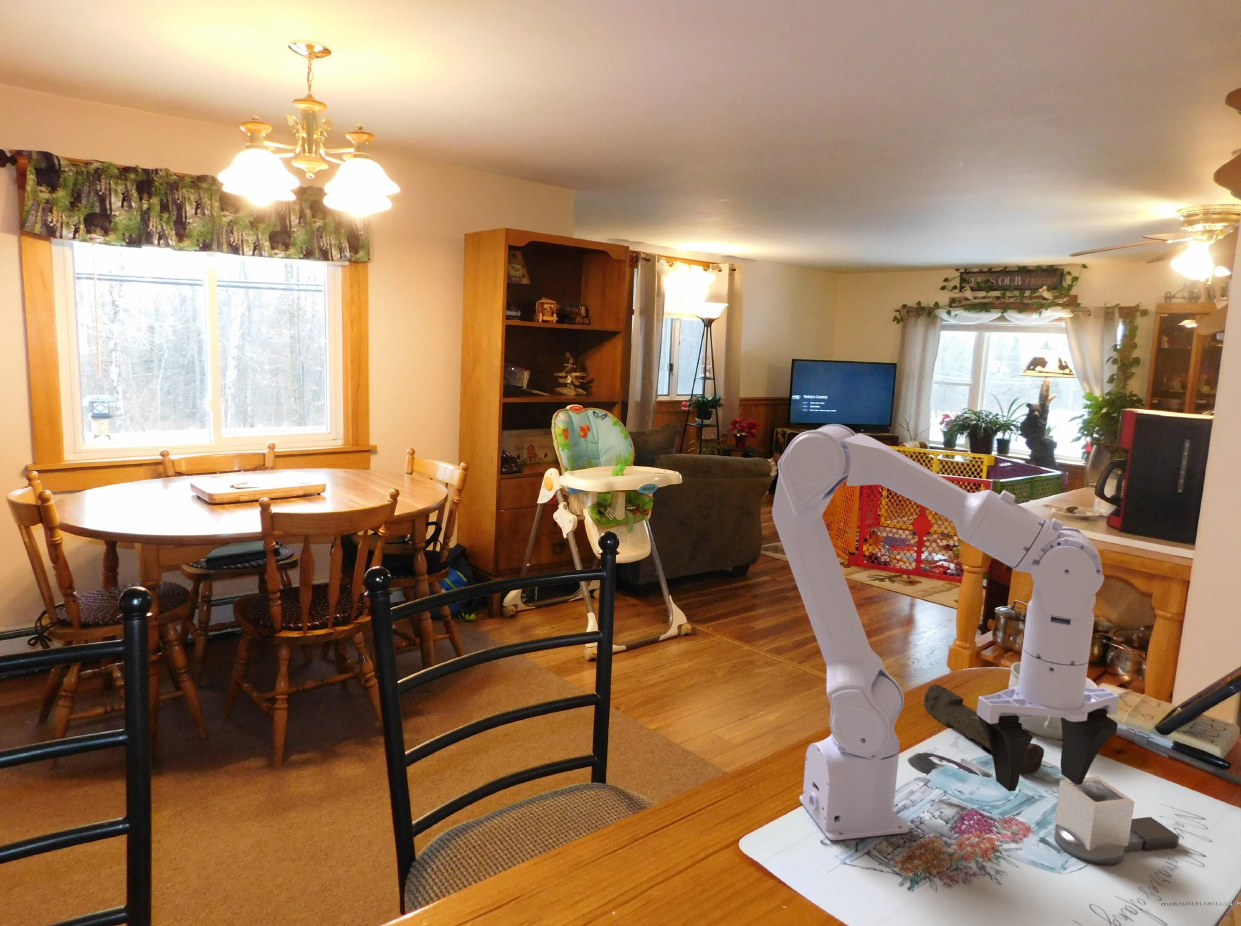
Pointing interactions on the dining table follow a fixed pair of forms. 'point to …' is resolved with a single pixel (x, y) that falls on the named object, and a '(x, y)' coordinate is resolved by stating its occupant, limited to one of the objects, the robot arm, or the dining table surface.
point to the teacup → (1041, 724)
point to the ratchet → (1142, 838)
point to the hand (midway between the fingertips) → (1038, 782)
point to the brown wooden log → (971, 723)
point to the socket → (1094, 813)
